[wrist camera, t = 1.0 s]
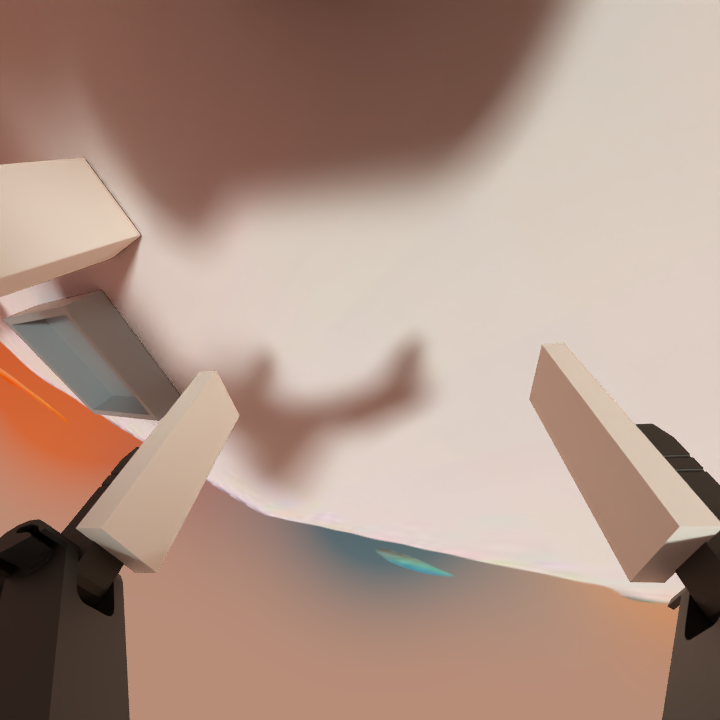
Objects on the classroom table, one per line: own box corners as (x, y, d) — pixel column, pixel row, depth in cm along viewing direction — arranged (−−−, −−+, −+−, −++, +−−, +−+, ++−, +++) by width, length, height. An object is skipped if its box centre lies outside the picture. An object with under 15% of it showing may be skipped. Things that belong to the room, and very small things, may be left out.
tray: (38, 304, 46) (2, 319, 43) (101, 289, 38) (63, 306, 35) (118, 396, 55) (93, 413, 52) (183, 399, 47) (158, 420, 44)
